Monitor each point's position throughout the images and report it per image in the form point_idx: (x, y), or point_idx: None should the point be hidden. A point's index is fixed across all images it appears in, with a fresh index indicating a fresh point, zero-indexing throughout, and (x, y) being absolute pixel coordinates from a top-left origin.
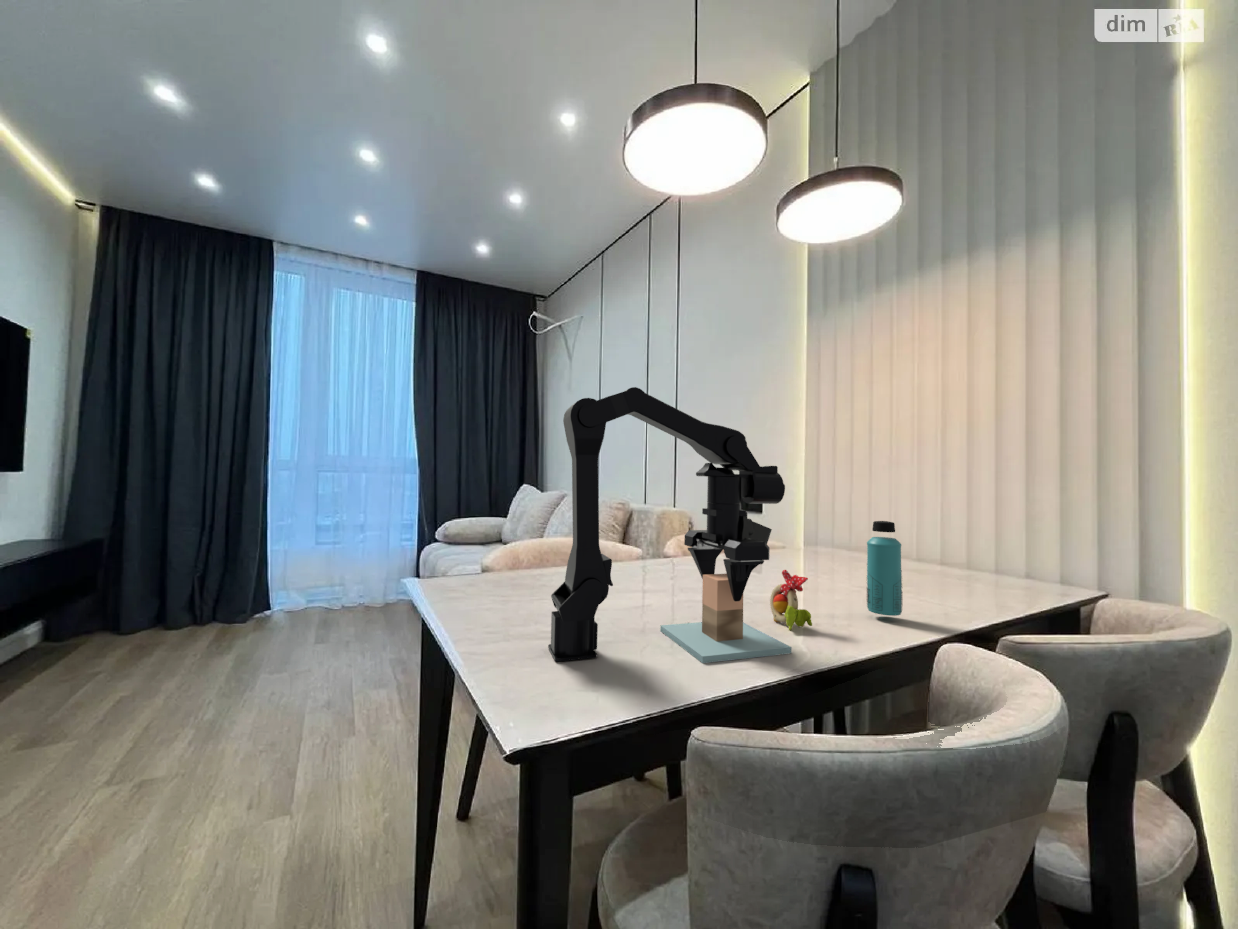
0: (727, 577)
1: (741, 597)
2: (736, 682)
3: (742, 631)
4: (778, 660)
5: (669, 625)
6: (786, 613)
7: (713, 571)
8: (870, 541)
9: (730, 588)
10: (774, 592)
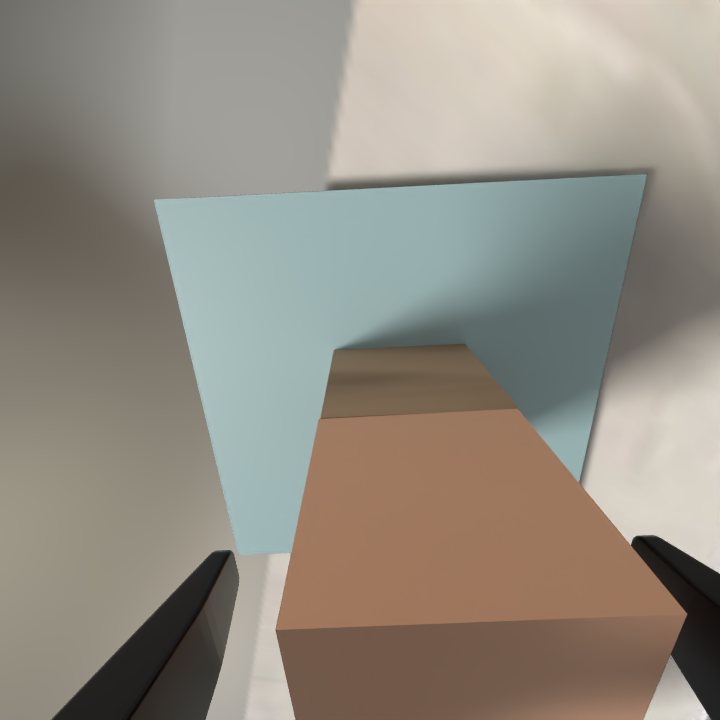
0: (518, 713)
1: (683, 552)
2: (708, 501)
3: (474, 357)
4: (652, 287)
5: (241, 530)
6: None
7: (144, 715)
8: None
9: (707, 700)
10: None
